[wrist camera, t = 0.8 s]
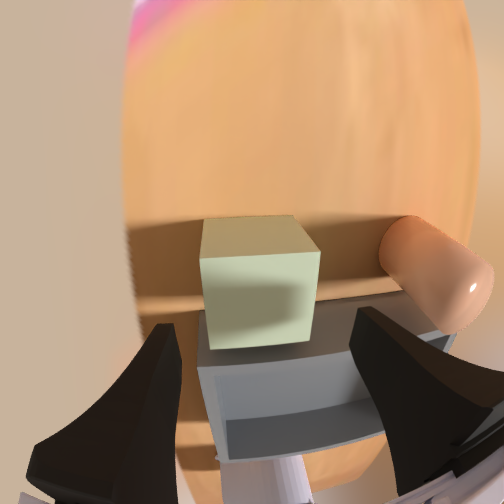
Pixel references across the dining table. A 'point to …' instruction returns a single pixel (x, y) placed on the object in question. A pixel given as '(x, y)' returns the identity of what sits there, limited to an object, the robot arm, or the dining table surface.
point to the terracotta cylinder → (436, 272)
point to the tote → (299, 384)
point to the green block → (258, 281)
